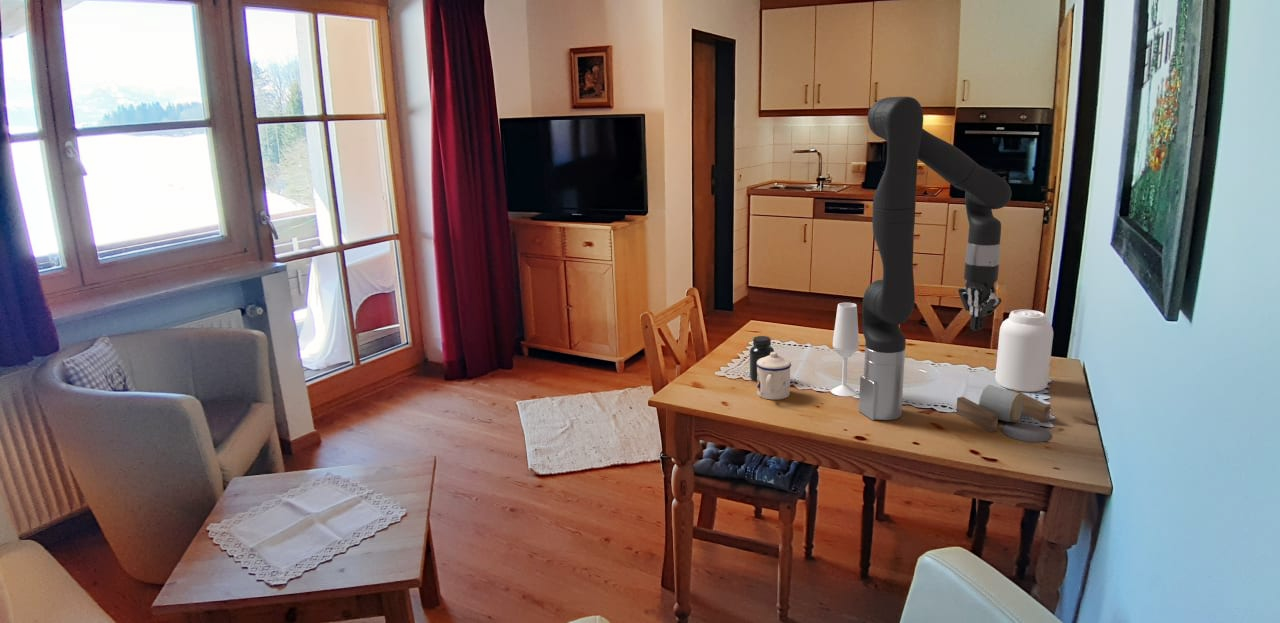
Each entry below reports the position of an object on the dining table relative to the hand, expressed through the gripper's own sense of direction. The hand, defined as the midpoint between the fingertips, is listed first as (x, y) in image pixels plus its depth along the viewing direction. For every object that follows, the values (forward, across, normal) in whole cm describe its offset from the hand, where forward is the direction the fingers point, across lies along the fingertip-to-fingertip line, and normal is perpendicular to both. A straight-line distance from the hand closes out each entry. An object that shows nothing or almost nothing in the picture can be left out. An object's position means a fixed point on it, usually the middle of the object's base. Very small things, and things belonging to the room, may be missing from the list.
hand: (976, 329), depth 184 cm
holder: (+19, +11, 0) cm, 22 cm away
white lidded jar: (+19, -5, +20) cm, 28 cm away
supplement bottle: (+19, -34, -42) cm, 57 cm away
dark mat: (+19, +20, -1) cm, 28 cm away
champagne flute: (+19, -17, -26) cm, 36 cm away
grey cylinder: (+19, +11, 0) cm, 22 cm away
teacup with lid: (+19, -21, -45) cm, 53 cm away
